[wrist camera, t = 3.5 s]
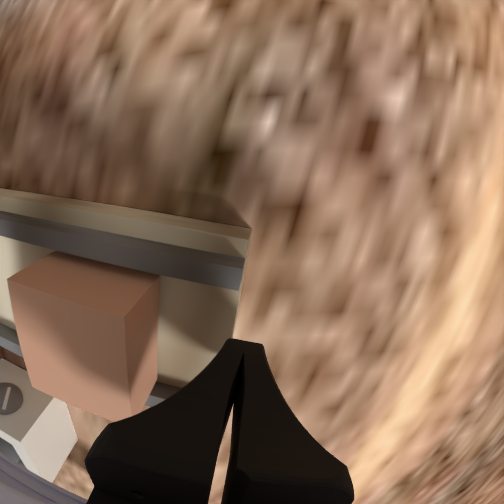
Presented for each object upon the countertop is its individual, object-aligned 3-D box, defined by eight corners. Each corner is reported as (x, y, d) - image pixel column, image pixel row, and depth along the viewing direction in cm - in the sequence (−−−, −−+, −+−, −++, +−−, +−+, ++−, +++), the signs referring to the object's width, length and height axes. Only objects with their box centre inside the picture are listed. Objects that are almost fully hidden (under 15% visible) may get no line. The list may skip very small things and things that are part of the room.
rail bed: (-29, 307, 16) (-77, 343, 11) (-44, 182, 13) (-108, 201, 8) (223, 396, 15) (203, 482, 10) (252, 229, 13) (233, 288, 7)
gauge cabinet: (21, 411, 19) (-11, 451, 14) (0, 354, 17) (-43, 396, 12) (78, 439, 19) (48, 488, 13) (61, 384, 17) (18, 439, 11)
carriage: (66, 348, 13) (32, 386, 10) (55, 250, 12) (6, 278, 9) (157, 378, 13) (133, 428, 10) (160, 275, 12) (124, 316, 9)
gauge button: (17, 421, 16) (-14, 462, 12) (7, 396, 15) (-30, 439, 11) (45, 436, 16) (14, 482, 12) (35, 412, 15) (-1, 460, 11)
